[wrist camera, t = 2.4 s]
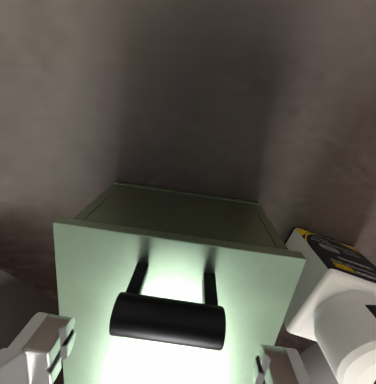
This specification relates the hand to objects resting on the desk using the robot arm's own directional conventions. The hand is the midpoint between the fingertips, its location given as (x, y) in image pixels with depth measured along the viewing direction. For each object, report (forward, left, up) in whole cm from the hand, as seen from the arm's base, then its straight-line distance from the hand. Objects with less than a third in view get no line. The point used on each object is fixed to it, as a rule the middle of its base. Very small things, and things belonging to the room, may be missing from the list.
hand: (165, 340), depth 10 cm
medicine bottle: (+7, +13, -15) cm, 21 cm away
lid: (+6, -1, -5) cm, 8 cm away
